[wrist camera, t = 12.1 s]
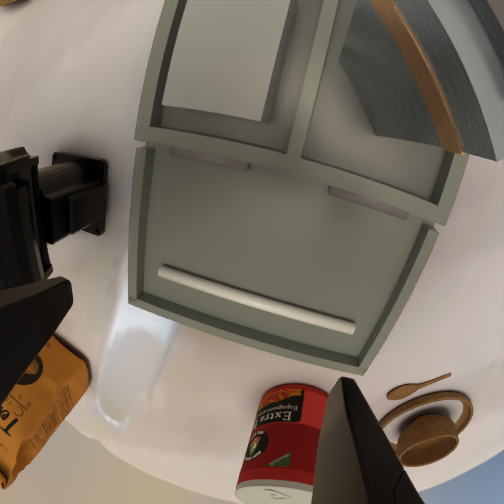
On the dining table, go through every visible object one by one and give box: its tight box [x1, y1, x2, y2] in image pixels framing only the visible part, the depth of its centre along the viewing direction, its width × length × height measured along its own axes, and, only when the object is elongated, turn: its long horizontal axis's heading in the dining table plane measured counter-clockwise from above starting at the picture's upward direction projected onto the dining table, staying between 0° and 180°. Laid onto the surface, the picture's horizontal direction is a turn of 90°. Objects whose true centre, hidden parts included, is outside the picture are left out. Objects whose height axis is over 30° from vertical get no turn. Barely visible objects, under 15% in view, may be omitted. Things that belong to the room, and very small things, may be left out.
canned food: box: [235, 384, 328, 504], centre depth 22 cm, size 8×8×11 cm
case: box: [128, 0, 469, 376], centre depth 17 cm, size 20×26×4 cm
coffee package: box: [0, 335, 89, 489], centre depth 24 cm, size 10×12×22 cm
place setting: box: [380, 373, 473, 467], centre depth 25 cm, size 18×20×6 cm
